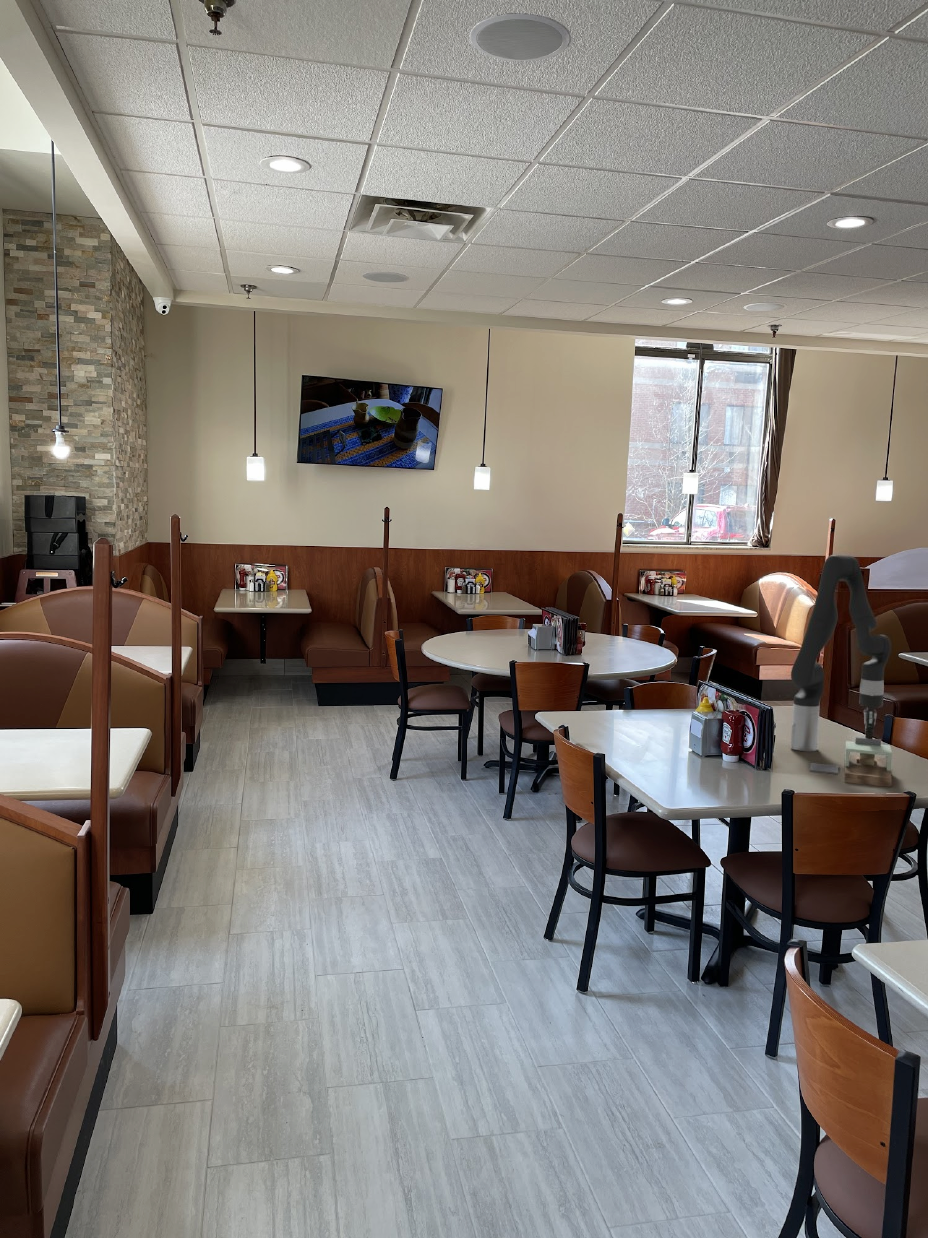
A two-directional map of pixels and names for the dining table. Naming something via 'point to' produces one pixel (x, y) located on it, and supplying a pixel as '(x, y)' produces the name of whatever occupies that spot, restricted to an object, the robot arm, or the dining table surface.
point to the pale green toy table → (868, 749)
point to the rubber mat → (824, 768)
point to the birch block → (867, 759)
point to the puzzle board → (867, 772)
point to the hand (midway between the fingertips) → (868, 741)
